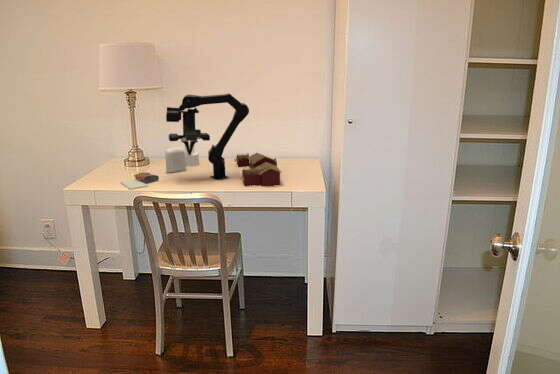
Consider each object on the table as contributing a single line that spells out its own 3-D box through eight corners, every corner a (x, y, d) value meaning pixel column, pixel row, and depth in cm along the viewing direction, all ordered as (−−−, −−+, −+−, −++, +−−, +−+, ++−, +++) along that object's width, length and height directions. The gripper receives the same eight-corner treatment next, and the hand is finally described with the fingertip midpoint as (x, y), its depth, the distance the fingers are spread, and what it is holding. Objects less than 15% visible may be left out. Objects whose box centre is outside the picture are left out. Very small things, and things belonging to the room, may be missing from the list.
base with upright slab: (184, 162, 261) (183, 141, 257) (200, 162, 260) (199, 141, 257) (180, 166, 252) (179, 144, 249) (197, 166, 252) (195, 144, 248)
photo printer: (184, 168, 248) (182, 145, 244) (187, 170, 244) (185, 147, 241) (165, 171, 242) (163, 148, 239) (168, 173, 239) (166, 149, 235)
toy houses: (285, 185, 219) (285, 164, 216) (241, 188, 215) (241, 167, 212) (268, 162, 261) (267, 144, 258) (231, 164, 257) (230, 146, 254)
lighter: (158, 181, 227) (147, 177, 234) (158, 174, 226) (147, 170, 233) (144, 183, 221) (132, 179, 228) (144, 176, 221) (132, 172, 227)
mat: (148, 186, 218) (148, 185, 218) (130, 189, 213) (129, 188, 213) (137, 179, 229) (137, 178, 229) (120, 182, 224) (119, 181, 224)
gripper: (170, 125, 211) (171, 159, 216) (212, 124, 217) (212, 157, 221) (168, 121, 221) (168, 154, 226) (207, 121, 227) (207, 153, 232)
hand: (189, 154), depth 226 cm, fingers closed
